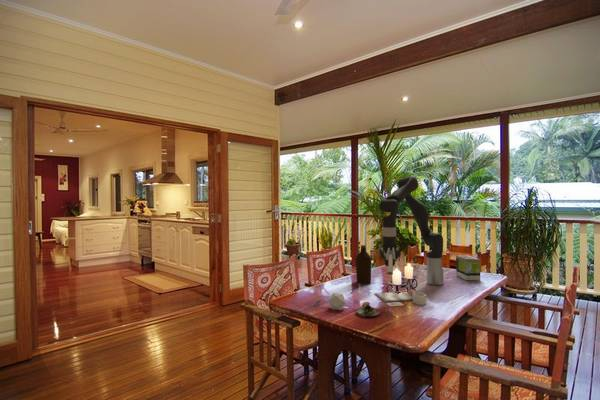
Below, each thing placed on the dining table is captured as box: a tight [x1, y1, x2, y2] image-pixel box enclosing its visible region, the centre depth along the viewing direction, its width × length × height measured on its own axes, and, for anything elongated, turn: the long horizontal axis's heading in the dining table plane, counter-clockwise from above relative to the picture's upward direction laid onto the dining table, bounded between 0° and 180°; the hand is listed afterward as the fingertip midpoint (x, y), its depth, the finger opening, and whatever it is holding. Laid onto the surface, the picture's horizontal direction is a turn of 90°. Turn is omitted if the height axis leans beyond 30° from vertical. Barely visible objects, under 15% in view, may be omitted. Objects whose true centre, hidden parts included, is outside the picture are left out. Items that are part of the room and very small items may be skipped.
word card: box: [385, 302, 405, 307], centre depth 174 cm, size 5×8×1 cm, turn 99°
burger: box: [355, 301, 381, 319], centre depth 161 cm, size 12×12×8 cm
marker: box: [386, 250, 394, 276], centre depth 182 cm, size 3×3×14 cm
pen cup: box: [412, 292, 427, 306], centre depth 176 cm, size 6×6×4 cm
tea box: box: [455, 254, 481, 281], centre depth 226 cm, size 15×10×15 cm, turn 179°
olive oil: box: [355, 244, 372, 285], centre depth 219 cm, size 11×11×25 cm
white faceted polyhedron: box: [328, 292, 347, 311], centre depth 169 cm, size 8×9×10 cm
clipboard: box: [374, 291, 413, 304], centre depth 186 cm, size 20×16×1 cm
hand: (389, 265), depth 182 cm, fingers closed on marker, 3 cm apart
